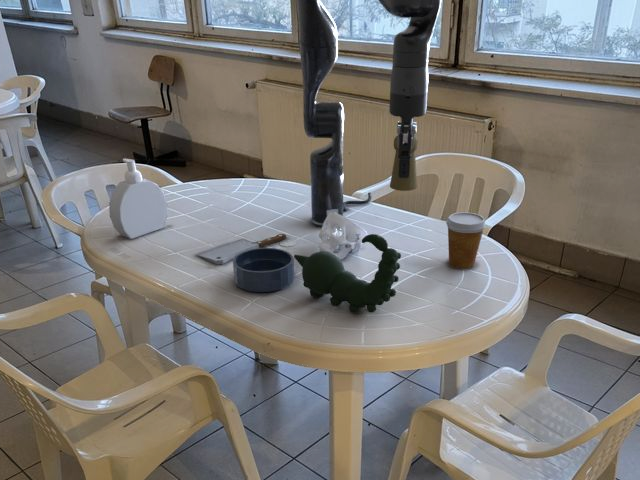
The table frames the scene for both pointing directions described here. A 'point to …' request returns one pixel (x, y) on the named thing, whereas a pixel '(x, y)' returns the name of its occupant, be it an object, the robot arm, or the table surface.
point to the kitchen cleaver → (236, 249)
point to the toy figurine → (351, 277)
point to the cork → (411, 181)
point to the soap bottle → (137, 205)
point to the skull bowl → (340, 235)
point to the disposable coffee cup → (464, 238)
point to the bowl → (263, 269)
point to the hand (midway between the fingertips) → (404, 173)
